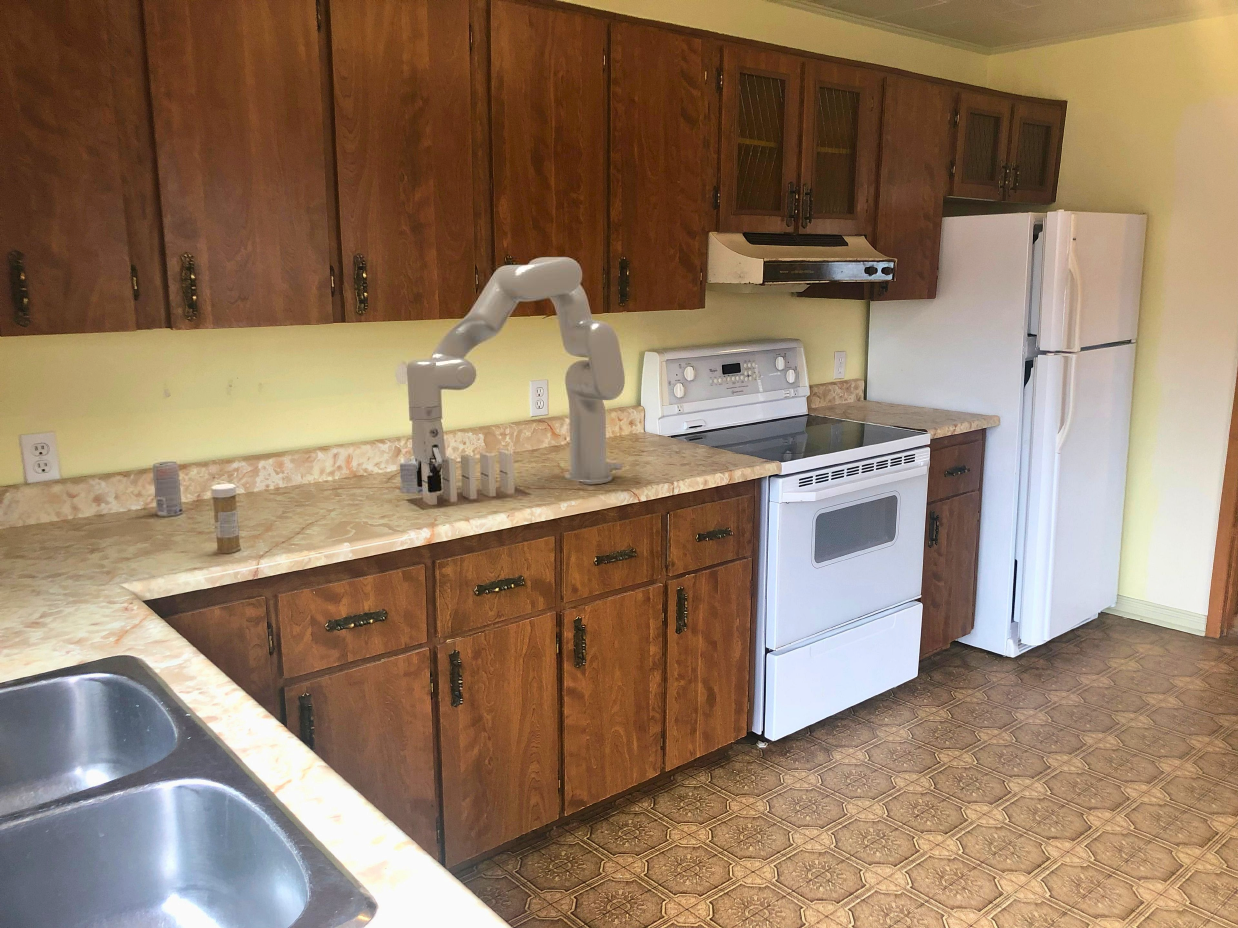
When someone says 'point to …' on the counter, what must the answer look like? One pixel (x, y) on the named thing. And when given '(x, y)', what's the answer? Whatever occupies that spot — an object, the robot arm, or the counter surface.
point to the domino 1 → (427, 497)
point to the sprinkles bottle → (226, 518)
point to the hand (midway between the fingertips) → (429, 488)
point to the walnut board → (466, 499)
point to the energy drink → (167, 489)
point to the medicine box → (409, 477)
